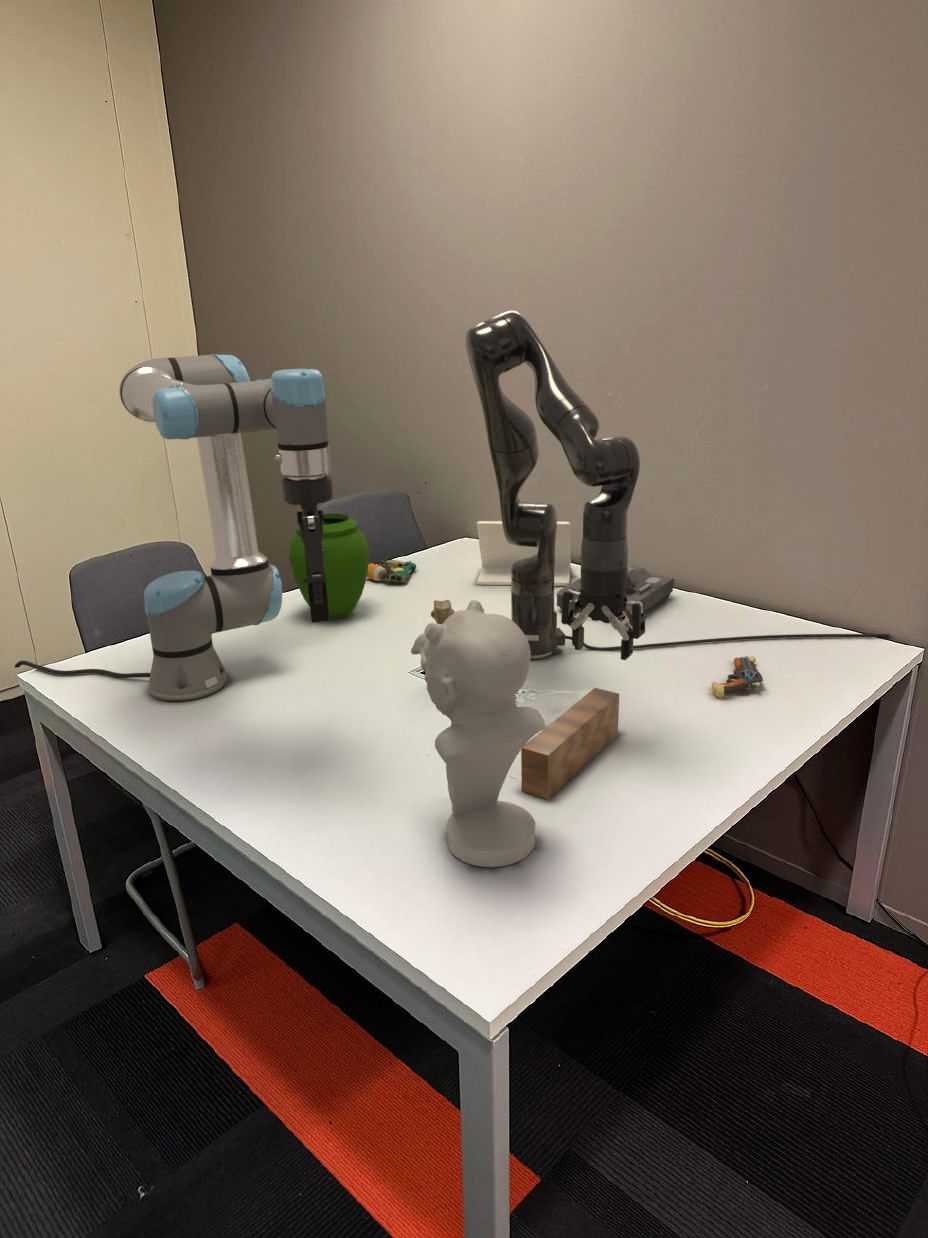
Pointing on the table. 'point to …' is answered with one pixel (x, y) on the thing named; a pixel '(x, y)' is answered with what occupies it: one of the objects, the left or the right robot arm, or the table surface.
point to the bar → (569, 743)
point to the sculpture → (441, 611)
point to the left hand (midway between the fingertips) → (318, 606)
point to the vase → (336, 563)
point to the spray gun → (390, 570)
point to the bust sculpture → (481, 729)
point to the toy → (634, 589)
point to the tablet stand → (517, 554)
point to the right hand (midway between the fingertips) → (601, 653)
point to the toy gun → (739, 677)
